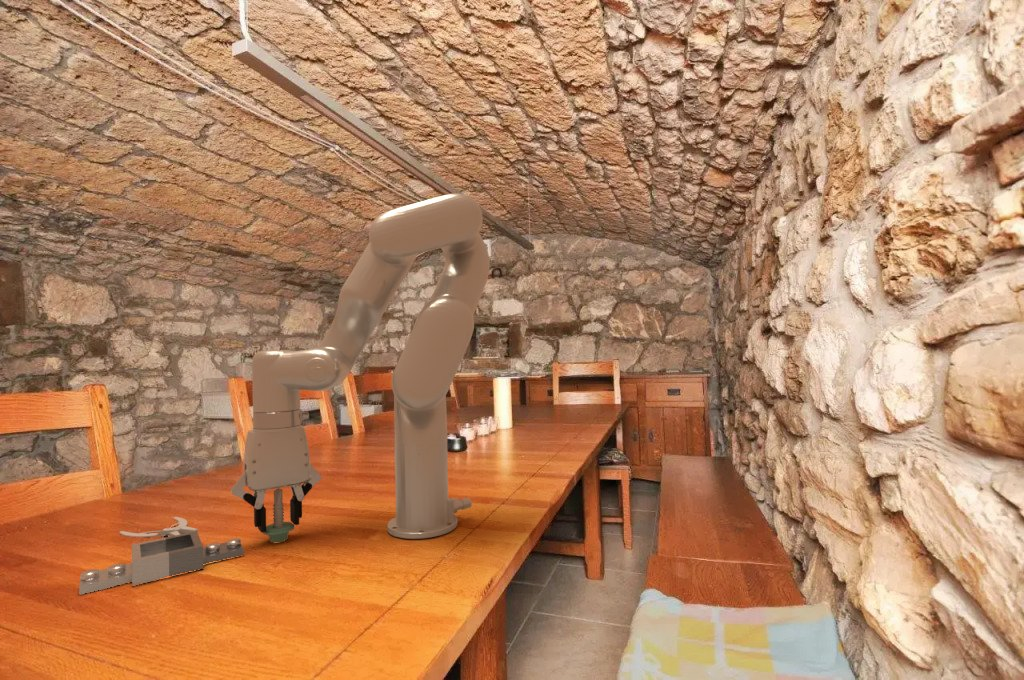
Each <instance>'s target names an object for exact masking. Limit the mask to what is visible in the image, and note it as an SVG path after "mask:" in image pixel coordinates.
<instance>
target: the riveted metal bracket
mask: <svg viewBox="0 0 1024 680" xmlns="http://www.w3.org/2000/svg"><path fill="white" fill-rule="evenodd" d="M198 533H199V532H198ZM198 533H197V531H196V532H191V533H186V534H181V535H176V536H171V537H167V536H165V537H160V538H157V539H152V540H146V541H142V542H136V543H131V562H130V563H122V562H121V563H115V564H113V565H110V566H109V567H107V568H104V569H98V568H94V569H88V570H85V571H82V572H81V573H80V581H79V588H78V594H79V595H78V596H81V595H86V594H85V593H87V594H90V592H91V593H94V591H95V592H99V591H103V590H107V588H108V589H111V588H110V587H112V588H115V587H114V586H116V585H120V586H122V585H121V584H124V583H128V582H131V581H132V583H131V584H132V585H131V586H134V585H137V584H141V583H146V582H150V581H154V580H157V579H160V578H164V577H167V576H172V575H176V574H180V573H185V572H189V571H194V570H198V569H203V570H204V566H203V564H206V563H209V562H213V561H219V560H223V559H227V558H231V557H236V556H241V555H244V556H245V553H244V552H245V548H244V547H243V545H242V538H238V537H236V538H232V539H229V540H227V541H226V542H221V543H220V542H214V543H213V542H212V543H209V544H206V545H205V546H203V542H202V541H201V538H200V535H199V534H198ZM241 557H242V556H241ZM128 584H129V583H128ZM146 584H147V583H146ZM124 585H125V584H124ZM116 587H117V586H116ZM134 587H135V586H134ZM98 590H99V591H98Z"/></svg>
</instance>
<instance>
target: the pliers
mask: <svg viewBox="0 0 1024 680" xmlns="http://www.w3.org/2000/svg"><path fill="white" fill-rule="evenodd" d="M173 518H174V519H176V520H178V522H177V523H174V524H172V525H171V526H170V527H165V528H163V529H162V530H152V531H145V532H139V533H138V532H137V533H136V532H130V531H124V530H121V531H119V533H120V534H122V535H125V536H130V537H154V536H165V537H167V536H168V537H171V536H176V535H180V534H186V533H191V532H196V531H197V533H199V532H198V531H199V530H198V528H195V527H191V526H188V520H187V519H185V518H183V517H179V516H173V517H172V519H173ZM177 524H179V525H178V526H176V527H173V528H171V527H172V526H174V525H177ZM153 532H159V533H153ZM147 533H149V534H147ZM120 534H119V535H120ZM122 535H121V536H122Z"/></svg>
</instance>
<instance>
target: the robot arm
mask: <svg viewBox="0 0 1024 680" xmlns="http://www.w3.org/2000/svg"><path fill="white" fill-rule="evenodd" d="M483 218H484V217H483V211H482V209H481V207H480V205H479V204H478V202H477V201H476V200H475V199H473V198H472V197H470V196H469V195H466V194H465V193H447V194H444V195H439V196H435V197H432V198H429V199H425V200H422V201H418V202H413V203H411V204H406V205H403V206H400V207H395V208H393V209H390V210H386V211H384V212H383V213H381V214H378V216H377V217H375V218H374V220H373V221H372V222H371V225H370V226H369V230H368V239H369V242H368V244H367V245H366V247H365V249H364V251H363V252H362V254H361V256H360V257H359V259H358V261H357V262H356V264H355V266H354V267H353V268H352V271H351V272H350V274H349V276H348V277H347V279H346V281H345V282H344V284H343V285H342V286H341V289H340V292H339V295H338V301H337V308H336V309H337V310H336V313H335V314H334V315H335V316H334V318H333V321H332V322H331V325H330V326H329V329H328V331H327V332H326V334H325V336H324V337H323V339H322V340H321V342H320V343H319V345H318V347H314V348H308V349H301V350H291V349H290V350H289V349H285V350H284V349H283V350H282V349H278V350H277V349H274V350H273V349H271V350H260V351H257V352H255V354H253V357H252V363H251V364H252V365H251V366H252V369H251V371H252V372H251V373H252V426H253V427H252V429H249V430H247V434H246V439H245V444H244V445H245V446H244V453H243V454H244V456H243V472H242V474H241V475H240V477H239V478H238V479H237V480H236V482H235V483H234V484H233V486H232V487H231V489H230V494H231V495H234V496H235V497H237V498H239V499H241V500H244V501H245V502H246V503H248V505H250V506H252V507H253V522H254V524H253V525H254V527H255V528H257V529H258V531H260V533H262V534H263V532H265V531H266V526H267V508H266V507H265V504H264V500H265V496H266V494H267V490H275V489H278V488H279V489H281V488H286V487H290V490H291V493H292V497H291V499H290V500H289V508H290V513H289V514H290V515H289V518H290V522H291V523H292V524H294V526H298V525H300V518H303V500H304V499H305V497H306V495H308V493H310V491H311V489H312V488H313V487H314V486H315V485H316V484H317V483H319V482H320V481H321V480H322V478H323V477H322V475H321V474H320V473H319V472H318V471H317V470H316V469H315V468H314V466H313V465H312V464H311V458H310V448H309V443H308V437H307V432H306V429H305V428H306V427H305V426H304V425H302V424H303V421H305V420H308V419H310V413H309V411H303V410H302V409H301V390H302V391H309V392H311V391H312V392H323V391H327V390H331V389H333V388H334V387H337V386H339V385H340V384H342V383H343V382H344V381H345V380H346V379H347V377H348V375H349V374H350V373H351V371H352V369H353V368H354V366H355V364H356V362H357V361H358V359H359V357H360V355H361V354H362V352H363V350H364V348H365V347H366V345H367V344H368V342H369V339H370V337H371V336H372V334H373V332H374V330H375V329H376V327H377V326H378V325H379V323H380V321H381V320H382V318H383V316H384V313H385V312H386V310H387V308H388V306H389V305H390V303H391V302H392V300H393V297H394V296H395V294H396V292H397V291H398V289H399V287H400V286H401V284H402V283H403V280H404V279H405V278H406V276H407V274H408V273H409V270H410V269H411V267H412V266H413V264H414V262H415V261H416V258H417V257H418V255H419V254H422V253H427V252H430V251H434V250H437V249H441V251H442V252H443V254H444V259H445V263H444V266H443V270H442V272H441V274H440V276H439V278H438V282H437V284H436V286H435V289H434V291H433V293H432V295H431V297H430V299H429V301H428V302H427V303H426V304H425V305H424V306H423V307H422V308H421V310H420V311H419V314H418V317H417V319H416V321H415V323H414V326H413V328H412V330H411V333H410V335H409V337H408V340H407V341H406V344H405V346H404V348H403V351H402V352H401V354H400V356H399V359H398V362H396V363H397V364H396V365H395V368H394V370H393V372H392V376H391V389H392V393H393V402H394V404H393V407H394V408H393V410H394V411H393V414H394V415H393V422H394V427H393V428H394V477H395V479H394V481H395V482H394V483H395V490H394V491H395V517H393V518H391V519H390V520H388V522H387V526H386V527H387V528H386V529H387V532H388V533H389V534H390V535H391V536H393V537H396V538H400V539H409V540H410V539H411V540H419V539H420V540H422V539H429V538H434V537H436V538H437V537H439V536H442V535H446V534H448V533H451V532H452V531H454V530H455V529H456V527H457V526H458V517H457V516H456V513H458V511H459V510H466V509H470V508H472V499H471V498H470V497H465V498H461V499H459V498H458V497H453V498H452V497H449V470H448V468H449V466H448V465H449V463H448V461H449V459H448V457H449V456H448V419H447V418H448V414H447V413H448V412H447V410H448V409H447V394H448V392H449V389H450V387H451V385H452V383H453V381H454V379H455V376H456V375H457V372H458V369H459V367H460V365H461V362H462V360H463V358H464V355H465V353H466V351H467V349H468V346H469V344H470V343H471V339H472V337H473V333H474V328H475V319H474V315H475V312H476V310H477V307H478V306H479V303H480V300H481V297H482V295H483V292H484V289H485V287H486V284H487V282H488V278H489V275H490V264H491V263H490V262H491V261H490V256H489V252H488V249H487V246H486V243H485V241H484V240H483V238H482V236H481V234H480V232H481V229H482V226H483V222H484V221H483V220H484V219H483ZM245 486H246V487H248V489H249V490H250V491H253V494H252V493H251V492H248V491H247V490H244V487H245Z"/></svg>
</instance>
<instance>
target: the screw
mask: <svg viewBox="0 0 1024 680" xmlns="http://www.w3.org/2000/svg"><path fill="white" fill-rule="evenodd" d="M272 506H273V509H272V510H273V511H272V512H273V515H272V516H273V522H272V523H270V524H268V525H266V531H265V532H262V534H264V535H267V536H268V537H269V542H270V541H271V542H282V541H284V540H286V541H287V539H288V537H289V535H288V534H289V533H290V532H291V531H293V530H294V529H295V525H294V524H293V523H292V522H291V521H284V520H285V519H284V516H285V515H284V513H285V512H284V506H285V505H284V502H283V489H281V488H275V489H274V490H273V505H272ZM271 542H270V543H271ZM284 542H285V541H284ZM282 543H283V542H282Z"/></svg>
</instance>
